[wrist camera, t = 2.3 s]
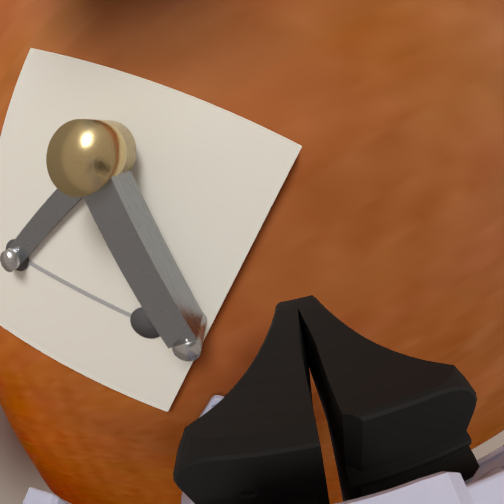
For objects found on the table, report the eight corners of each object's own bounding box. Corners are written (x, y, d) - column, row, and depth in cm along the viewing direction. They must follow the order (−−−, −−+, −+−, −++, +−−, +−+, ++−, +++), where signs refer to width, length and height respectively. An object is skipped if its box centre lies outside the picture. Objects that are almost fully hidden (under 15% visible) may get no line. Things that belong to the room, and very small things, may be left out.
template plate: (170, 402, 22) (166, 417, 20) (-10, 308, 19) (-20, 317, 18) (299, 145, 16) (304, 146, 14) (39, 50, 13) (25, 46, 11)
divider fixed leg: (99, 148, 15) (88, 150, 13) (113, 169, 15) (104, 171, 14) (7, 252, 16) (-3, 259, 15) (18, 268, 17) (8, 276, 16)
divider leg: (74, 140, 14) (36, 144, 11) (124, 108, 13) (92, 104, 10) (176, 337, 18) (163, 375, 15) (225, 320, 17) (221, 360, 14)
